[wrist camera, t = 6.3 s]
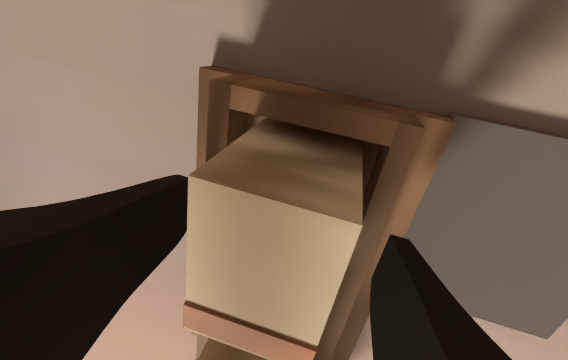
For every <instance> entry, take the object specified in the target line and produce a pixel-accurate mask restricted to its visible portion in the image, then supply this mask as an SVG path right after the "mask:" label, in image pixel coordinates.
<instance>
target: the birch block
mask: <svg viewBox="0 0 568 360" xmlns="http://www.w3.org/2000/svg"><path fill="white" fill-rule="evenodd" d="M362 226H363V169H362V141H360V140H356V139H352V138H347V137H343V136H339V135H335V134H331V133H327V132H323V131H319V130H315V129H311V128H307V127H303V126H299V125H294V124H290V123H286V122H282V121H278V120H274V119H270V118H265V119H263V120H262V121H261V122H259V123H258V124H257V125H255V126H254V127H253V128H251V129H250V130H249V131H247V132H246V133H245V134H243V135H242V136H241V137H239V138H238V139H237V140H235V141H234V142H233V143H231V144H230V145H229V146H227V147H226V148H225V149H223V150H222V151H221V152H219V153H218V154H217V155H215V156H214V157H213V158H211V159H210V160H209V161H207V162H206V163H205V164H203V165H202V166H201V167H199V168H198V169H197V170H195V171H194V172H192V173H191V174H190V175H188V207H187V250H186V293H185V303H184V305H183V327H185V329H186V330H189V331H192V332H195V333H197V334H200V335H203V336H205V337H208V338H211V339H214V340H216V341H219V342H222V343H224V344H227V345H230V346H233V347H235V348H238V349H241V350H243V351H246V352H249V353H252V354H254V355H257V356H260V357H262V358H265V359H268V360H313V359H314V356H315V354H316V349H317V346H318V344H319V341H320V338H321V336H322V333H323V330H324V328H325V325H326V322H327V320H328V317H329V314H330V312H331V309H332V306H333V304H334V301H335V298H336V296H337V293H338V290H339V288H340V285H341V282H342V280H343V277H344V274H345V272H346V269H347V266H348V264H349V261H350V258H351V256H352V253H353V250H354V248H355V245H356V242H357V240H358V237H359V234H360V232H361V229H362Z"/></svg>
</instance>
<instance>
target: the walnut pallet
mask: <svg viewBox="0 0 568 360" xmlns="http://www.w3.org/2000/svg"><path fill="white" fill-rule="evenodd" d="M265 118H270V119H274V120H278V121H282V122H286V123H290V124H294V125H299V126H303V127H307V128H311V129H315V130H319V131H323V132H327V133H331V134H335V135H339V136H343V137H347V138H352V139H356V140H360V141H362V169H363V226H362V229H361V232H360V234H359V237H358V240H357V242H356V245H355V248H354V250H353V253H352V256H351V258H350V261H349V264H348V266H347V269H346V272H345V274H344V277H343V280H342V282H341V285H340V288H339V290H338V293H337V296H336V298H335V301H334V304H333V306H332V309H331V312H330V314H329V317H328V320H327V322H326V325H325V328H324V330H323V333H322V336H321V338H320V341H319V344H318V346H317V349H316V354H315V356H314V359H313V360H348V359H349V357H350V355H351V353H352V350H353V348H354V346H355V344H356V342H357V340H358V337H359V335H360V333H361V331H362V329H363V326H364V324H365V322H366V320H367V318H368V316H369V313H370V290H371V278H372V276H373V273H374V271H375V269H376V266H377V264H378V262H379V259H380V257H381V255H382V252H383V250H384V248H385V245H386V243H387V241H388V238H389V236H390V234H392V235H395V236H399V237H402V238H404V237H405V235H406V233H407V231H408V228H409V226H410V224H411V222H412V220H413V218H414V215H415V213H416V211H417V209H418V207H419V204H420V202H421V200H422V198H423V196H424V194H425V191H426V189H427V187H428V185H429V183H430V181H431V178H432V176H433V174H434V172H435V170H436V167H437V165H438V163H439V161H440V159H441V157H442V154H443V152H444V150H445V148H446V146H447V143H448V141H449V139H450V137H451V135H452V133H453V130H454V128H455V126H456V123H455V122H454V121H453V120H452V119H450V118H449V117H445V116H440V115H435V114H431V113H426V112H422V111H417V110H412V109H408V108H403V107H399V106H394V105H389V104H385V103H380V102H375V101H371V100H366V99H362V98H357V97H352V96H348V95H343V94H339V93H334V92H329V91H325V90H320V89H316V88H311V87H306V86H302V85H297V84H293V83H288V82H283V81H279V80H274V79H269V78H265V77H260V76H256V75H251V74H246V73H242V72H237V71H233V70H228V69H223V68H219V67H214V66H206V67H199V101H198V134H197V167H196V170H197V169H198V168H199V167H201V166H202V165H203V164H205V163H206V162H207V161H209V160H210V159H211V158H213V157H214V156H215V155H217V154H218V153H219V152H221V151H222V150H223V149H225V148H226V147H227V146H229V145H230V144H231V143H233V142H234V141H235V140H237V139H238V138H239V137H241V136H242V135H243V134H245V133H246V132H247V131H249V130H250V129H251V128H253V127H254V126H255V125H257V124H258V123H259V122H261V121H262V120H263V119H265ZM192 334H193V335H196V336H197V358H196V360H197V359H198V357H199V355H200V354H201V352H202V350H203V348H204V346H205V344H206V342H207V340H208V337H205V336H203V335H200V334H197V333H195V332H192Z"/></svg>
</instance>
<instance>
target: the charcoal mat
mask: <svg viewBox="0 0 568 360" xmlns="http://www.w3.org/2000/svg"><path fill="white" fill-rule="evenodd" d="M449 118H450V119H452V120H453V121H454V122H455V123H456V126H455V128H454V130H453V133H452V135H451V137H450V139H449V141H448V143H447V146H446V148H445V150H444V152H443V154H442V157H441V159H440V161H439V163H438V165H437V167H436V170H435V172H434V174H433V176H432V178H431V181H430V183H429V185H428V187H427V189H426V191H425V194H424V196H423V198H422V200H421V202H420V204H419V207H418V209H417V211H416V213H415V215H414V218H413V220H412V222H411V224H410V226H409V228H408V231H407V233H406V235H405V237H404V238H406V239H409V240H410V241H411V242H412V243H413V245H414V246H415V247H416V249H417V250H418V251H419V253H420V254H421V255H422V257H423V258H424V259H425V261H426V262H427V263H428V265H429V266H430V267H431V269H432V270H433V271H434V272H435V274H436V275H437V276H438V278H439V279H440V280H441V281H442V283H443V284H444V285H445V287H446V288H447V289H448V290H449V292H450V293H451V294H452V295H453V296H454V298H455V299H456V300H457V301H458V302H459V304H460V305H461V306H462V307H463V308H464V309H465V310H466V312H467V313H468V314H469V315H470V316H473V317H476V318H480V319H483V320H486V321H489V322H493V323H496V324H499V325H502V326H506V327H509V328H512V329H515V330H519V331H522V332H525V333H528V334H532V335H535V336H538V337H541V338H545V339H548V338H549V337H550V336H551V335H552V334H553V333H554V332H555V331H556V330H557V329H558V328H559V327H560V326H561V325H562V323H563V322H564V321H565V320H566V319H567V318H568V137H564V136H559V135H555V134H550V133H545V132H541V131H536V130H531V129H527V128H522V127H517V126H513V125H508V124H503V123H499V122H494V121H489V120H485V119H480V118H475V117H471V116H466V115H461V114H457V113H452V112H451V114H450V116H449Z"/></svg>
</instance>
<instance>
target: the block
mask: <svg viewBox="0 0 568 360" xmlns="http://www.w3.org/2000/svg"><path fill="white" fill-rule="evenodd" d="M197 360H268V359H265V358H262V357H260V356H257V355H254V354H252V353H249V352H246V351H243V350H241V349H238V348H235V347H233V346H230V345H227V344H224V343H222V342H219V341H216V340H214V339H211V338H208V340H207V342H206V344H205V346H204V348H203V350H202V352H201V354H200V355H199V357H198V359H197Z"/></svg>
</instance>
